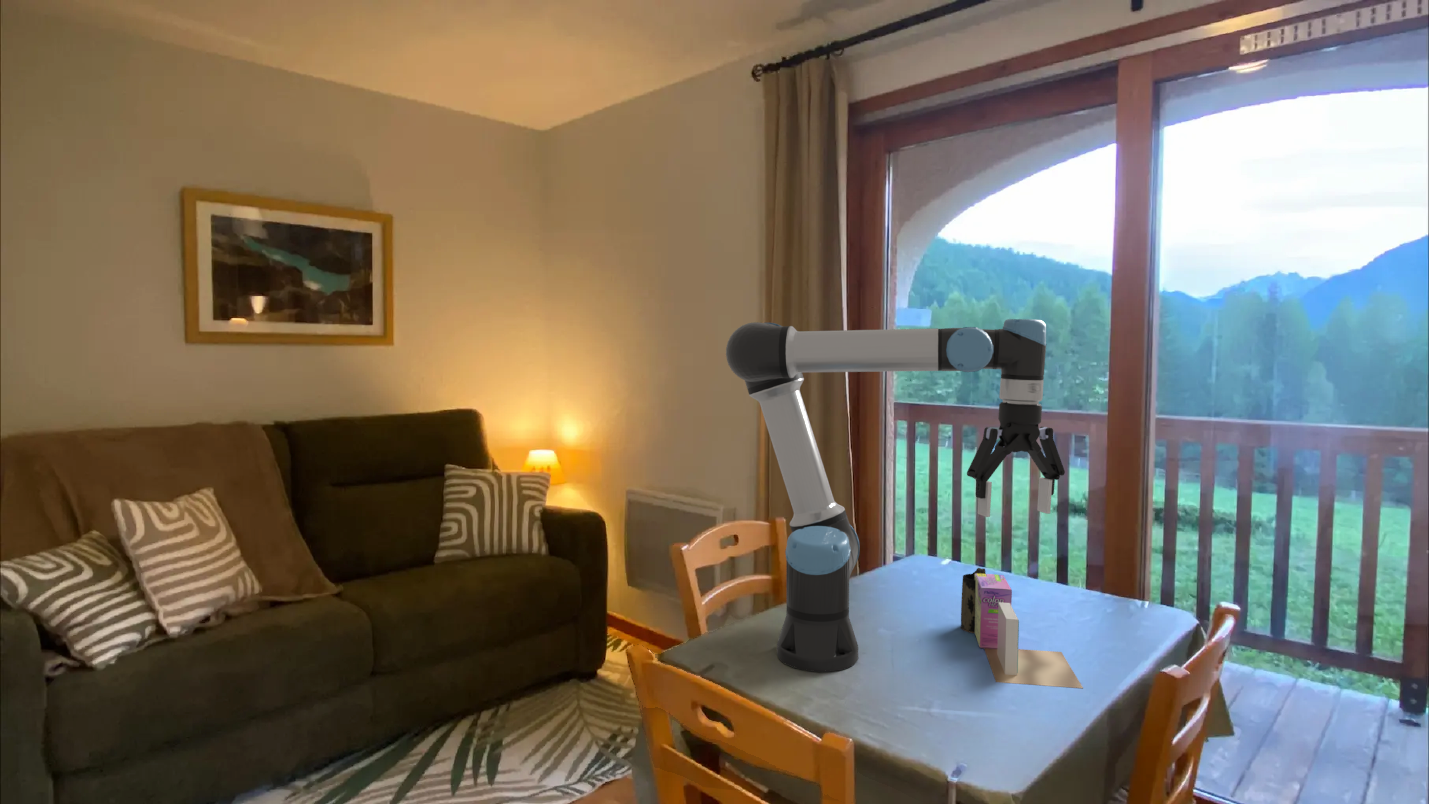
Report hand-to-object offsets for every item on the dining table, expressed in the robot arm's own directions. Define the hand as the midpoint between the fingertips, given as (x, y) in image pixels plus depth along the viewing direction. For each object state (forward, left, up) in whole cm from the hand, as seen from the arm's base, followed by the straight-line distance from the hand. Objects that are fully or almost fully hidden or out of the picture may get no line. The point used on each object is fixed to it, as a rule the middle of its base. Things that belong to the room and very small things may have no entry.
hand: (1014, 513), depth 151 cm
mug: (-5, +9, -26) cm, 28 cm away
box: (-3, +3, -26) cm, 26 cm away
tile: (-2, -9, -26) cm, 27 cm away
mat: (+2, -9, -26) cm, 28 cm away
